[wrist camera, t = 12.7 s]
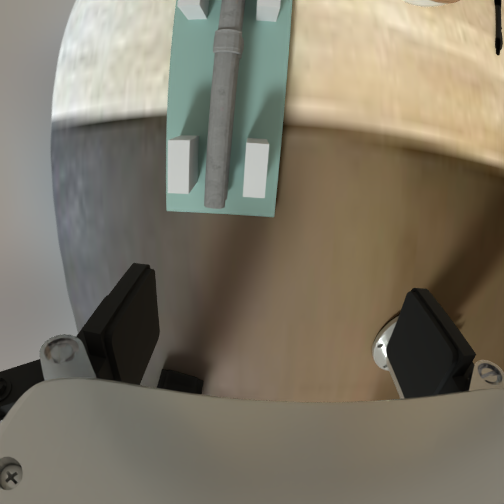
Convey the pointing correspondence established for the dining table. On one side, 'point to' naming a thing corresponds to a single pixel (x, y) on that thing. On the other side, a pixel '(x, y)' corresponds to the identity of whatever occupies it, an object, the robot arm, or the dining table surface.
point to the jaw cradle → (246, 106)
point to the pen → (498, 27)
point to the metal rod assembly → (223, 101)
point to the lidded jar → (429, 2)
